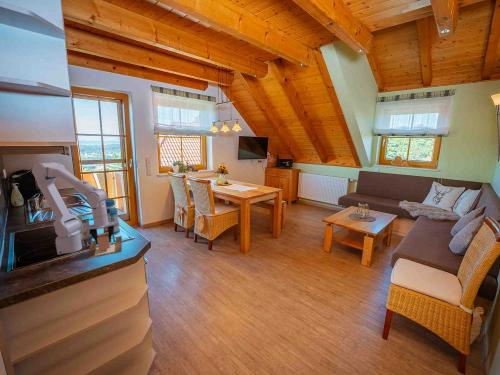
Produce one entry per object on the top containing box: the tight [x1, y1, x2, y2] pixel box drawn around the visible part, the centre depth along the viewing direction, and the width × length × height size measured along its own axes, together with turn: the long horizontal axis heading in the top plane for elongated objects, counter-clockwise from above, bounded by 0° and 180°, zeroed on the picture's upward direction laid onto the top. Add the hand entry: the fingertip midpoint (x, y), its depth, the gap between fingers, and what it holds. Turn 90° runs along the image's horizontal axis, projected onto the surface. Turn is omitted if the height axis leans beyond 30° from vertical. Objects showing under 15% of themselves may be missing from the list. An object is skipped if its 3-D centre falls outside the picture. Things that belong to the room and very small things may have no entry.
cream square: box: [94, 244, 115, 256], centre depth 115 cm, size 8×9×1 cm
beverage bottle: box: [102, 198, 121, 236], centre depth 137 cm, size 8×8×20 cm
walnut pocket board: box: [86, 235, 123, 260], centre depth 120 cm, size 14×22×1 cm, turn 28°
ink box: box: [76, 214, 92, 242], centre depth 129 cm, size 7×4×13 cm, turn 168°
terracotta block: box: [97, 232, 112, 250], centre depth 115 cm, size 4×6×6 cm
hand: (104, 242), depth 114 cm, fingers closed on terracotta block, 4 cm apart
